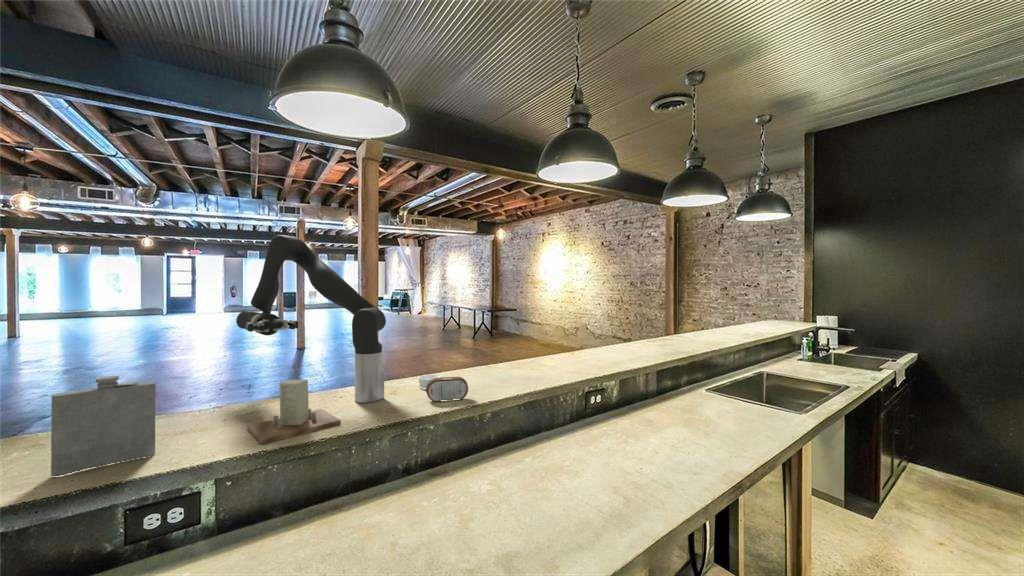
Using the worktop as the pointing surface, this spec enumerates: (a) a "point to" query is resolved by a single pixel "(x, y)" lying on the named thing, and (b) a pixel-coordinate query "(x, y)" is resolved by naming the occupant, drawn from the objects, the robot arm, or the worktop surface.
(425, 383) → the ramekin
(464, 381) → the tin
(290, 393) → the skincare box
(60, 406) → the hip flask
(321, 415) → the pin tray
